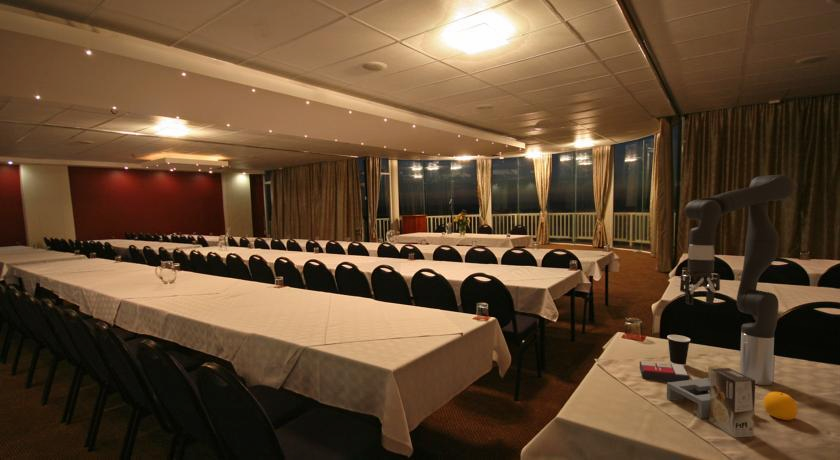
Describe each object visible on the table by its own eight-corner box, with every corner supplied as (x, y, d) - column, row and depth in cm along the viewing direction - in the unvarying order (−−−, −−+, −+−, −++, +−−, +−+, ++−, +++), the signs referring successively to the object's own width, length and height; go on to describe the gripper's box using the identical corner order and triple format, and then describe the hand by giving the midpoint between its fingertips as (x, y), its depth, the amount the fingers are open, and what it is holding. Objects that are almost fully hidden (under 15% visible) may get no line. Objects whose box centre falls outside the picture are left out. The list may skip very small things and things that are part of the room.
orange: (760, 408, 128) (761, 385, 128) (793, 414, 124) (794, 390, 124) (766, 419, 121) (767, 395, 121) (801, 426, 117) (802, 401, 117)
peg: (715, 399, 134) (716, 364, 133) (728, 406, 129) (730, 369, 128) (703, 401, 133) (704, 365, 132) (716, 408, 128) (717, 371, 127)
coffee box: (755, 436, 112) (757, 380, 111) (733, 438, 111) (735, 381, 111) (727, 419, 121) (729, 367, 120) (707, 420, 121) (709, 368, 120)
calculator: (639, 359, 160) (683, 363, 154) (639, 370, 160) (684, 374, 154) (642, 369, 150) (689, 374, 144) (642, 381, 150) (690, 386, 144)
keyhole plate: (710, 392, 138) (711, 377, 138) (749, 411, 126) (749, 394, 125) (666, 398, 134) (667, 382, 134) (701, 418, 122) (701, 400, 121)
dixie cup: (661, 361, 167) (662, 335, 166) (678, 360, 168) (679, 334, 167) (676, 369, 159) (677, 341, 158) (694, 367, 160) (695, 340, 159)
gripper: (708, 255, 145) (706, 300, 146) (674, 257, 142) (673, 302, 143) (728, 258, 138) (726, 305, 139) (693, 259, 135) (691, 307, 136)
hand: (699, 303), depth 141 cm, fingers open, 8 cm apart
